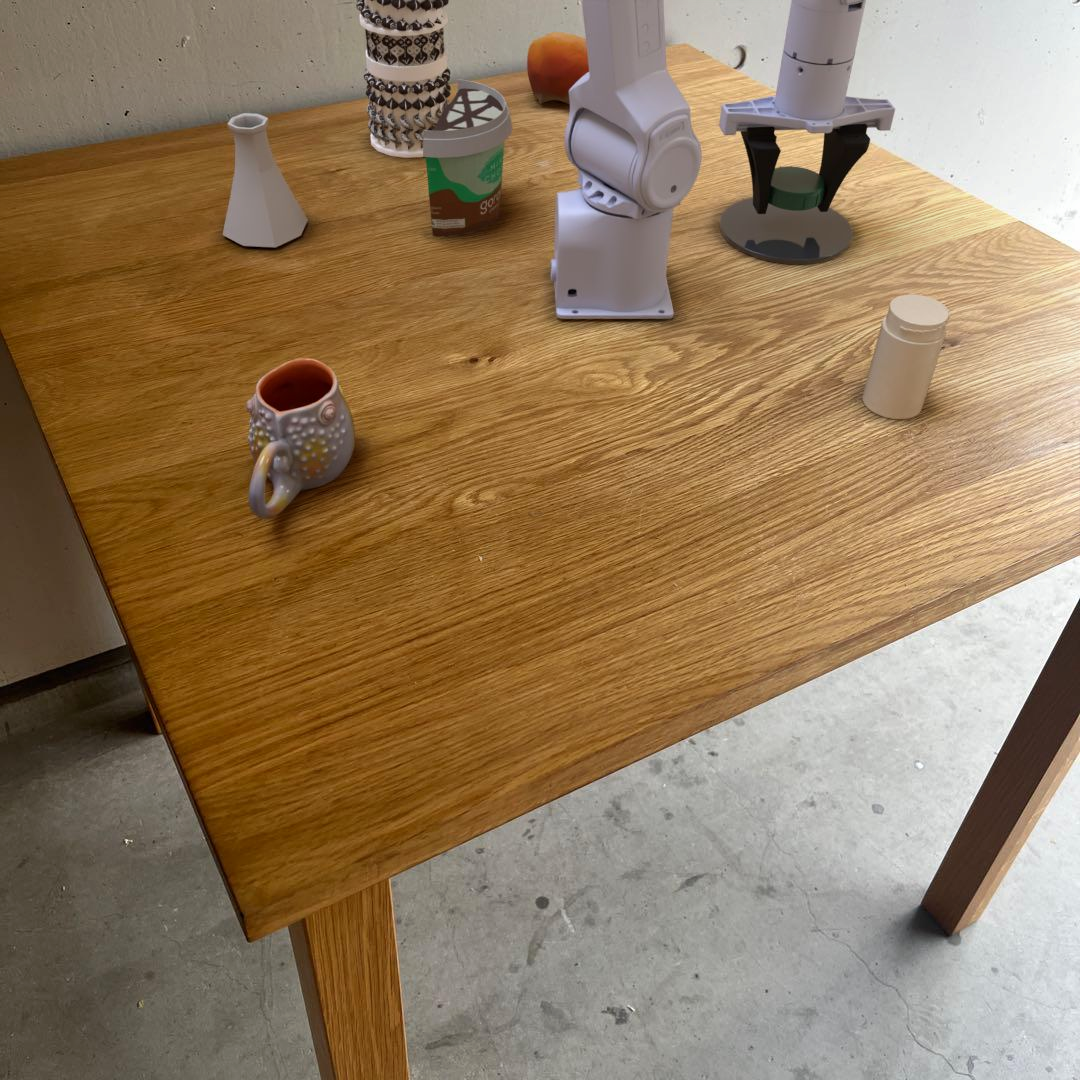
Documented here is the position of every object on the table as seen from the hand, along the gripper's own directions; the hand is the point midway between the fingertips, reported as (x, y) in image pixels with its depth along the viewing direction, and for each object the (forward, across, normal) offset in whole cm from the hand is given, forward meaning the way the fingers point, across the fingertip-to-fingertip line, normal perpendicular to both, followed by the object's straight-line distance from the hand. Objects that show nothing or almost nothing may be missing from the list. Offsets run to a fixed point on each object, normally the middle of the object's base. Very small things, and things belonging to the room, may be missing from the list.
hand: (789, 207), depth 99 cm
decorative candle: (+2, -33, +22) cm, 40 cm away
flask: (+2, -47, +4) cm, 47 cm away
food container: (+2, -28, +5) cm, 28 cm away
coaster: (+2, 0, 0) cm, 2 cm away
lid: (-2, 0, 0) cm, 2 cm away
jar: (+2, +1, -26) cm, 26 cm away
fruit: (+2, -17, +31) cm, 36 cm away
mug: (+2, -43, -32) cm, 53 cm away
